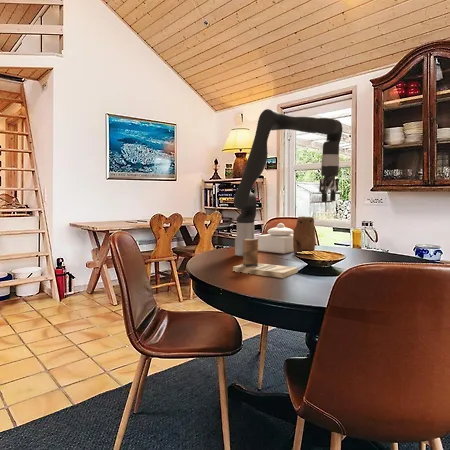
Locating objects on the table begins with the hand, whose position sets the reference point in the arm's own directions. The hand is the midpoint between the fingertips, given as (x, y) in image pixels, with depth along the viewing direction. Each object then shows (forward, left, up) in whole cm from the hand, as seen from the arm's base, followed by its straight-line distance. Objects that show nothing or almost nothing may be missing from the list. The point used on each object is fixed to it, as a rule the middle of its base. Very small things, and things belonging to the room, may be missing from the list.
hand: (328, 201), depth 173 cm
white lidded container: (-39, +28, -29) cm, 56 cm away
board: (-15, -32, -28) cm, 45 cm away
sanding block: (-22, -32, -26) cm, 47 cm away
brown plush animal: (-21, +21, -29) cm, 41 cm away
